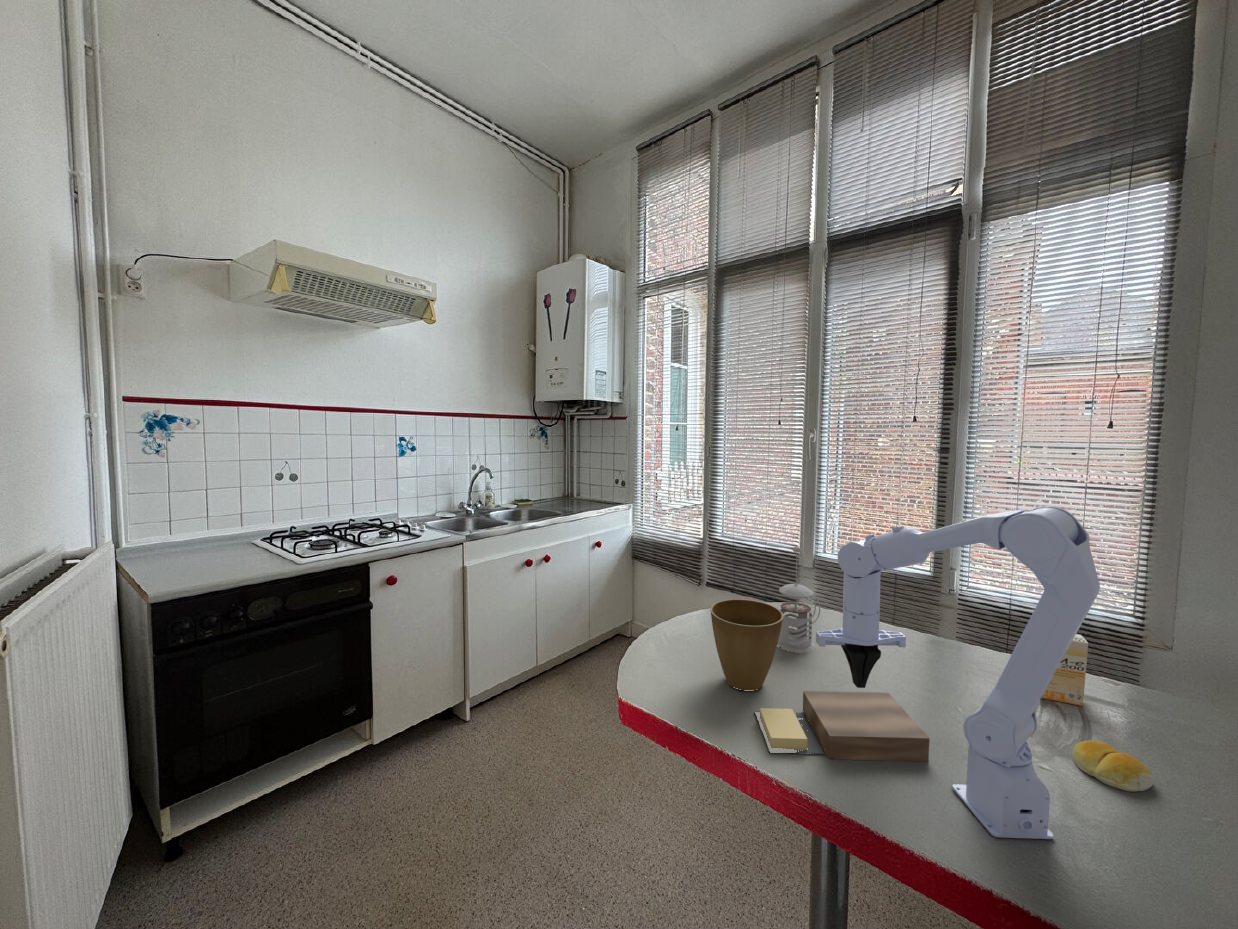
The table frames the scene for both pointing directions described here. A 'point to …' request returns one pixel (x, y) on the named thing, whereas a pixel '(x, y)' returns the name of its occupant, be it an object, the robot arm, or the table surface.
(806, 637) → the french press
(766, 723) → the pale yellow block
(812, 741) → the mat
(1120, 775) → the bread roll
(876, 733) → the board
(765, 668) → the plant pot
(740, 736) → the table surface
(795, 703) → the table surface
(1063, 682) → the supplement box
